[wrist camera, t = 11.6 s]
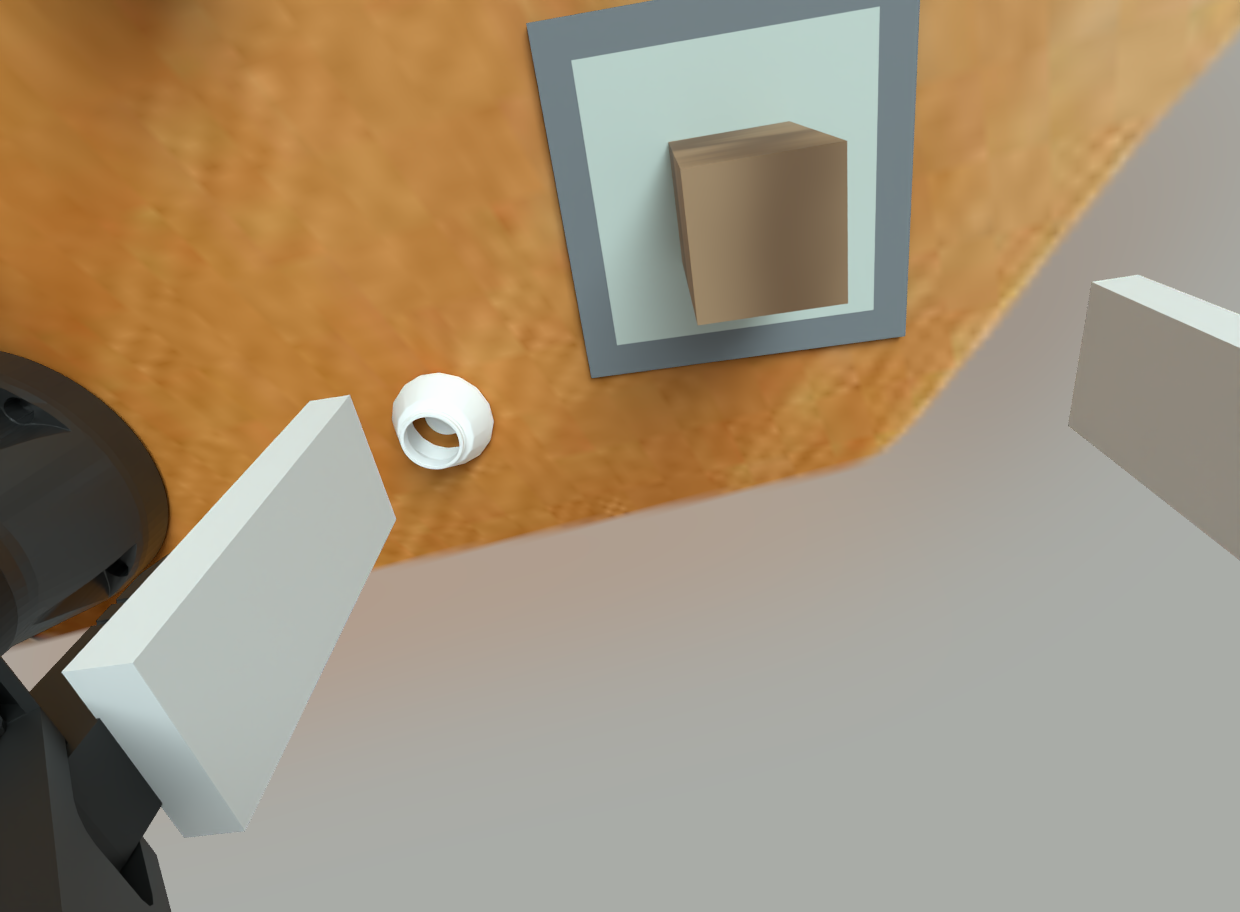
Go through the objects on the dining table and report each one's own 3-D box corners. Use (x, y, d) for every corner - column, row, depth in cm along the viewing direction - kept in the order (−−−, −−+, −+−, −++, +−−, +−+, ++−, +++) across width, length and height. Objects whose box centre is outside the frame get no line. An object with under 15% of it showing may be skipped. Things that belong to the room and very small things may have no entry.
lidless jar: (376, 400, 36) (438, 473, 38) (357, 426, 33) (424, 502, 35) (454, 352, 35) (513, 430, 37) (439, 375, 32) (504, 457, 34)
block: (682, 261, 32) (697, 325, 24) (668, 142, 29) (680, 168, 21) (794, 244, 31) (848, 303, 23) (789, 121, 29) (847, 140, 21)
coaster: (591, 375, 35) (591, 378, 35) (527, 24, 28) (526, 23, 27) (902, 333, 34) (905, 336, 33) (918, -47, 26) (922, -49, 26)
